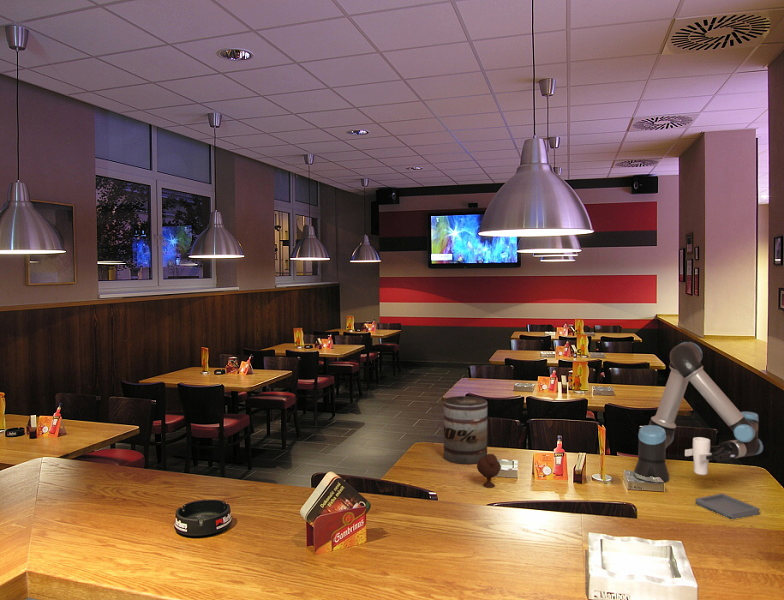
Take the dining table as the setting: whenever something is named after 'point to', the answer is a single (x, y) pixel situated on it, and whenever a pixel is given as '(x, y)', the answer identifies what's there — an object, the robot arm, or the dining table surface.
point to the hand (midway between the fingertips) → (692, 455)
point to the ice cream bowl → (488, 468)
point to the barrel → (465, 429)
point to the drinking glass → (699, 448)
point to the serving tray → (727, 506)
